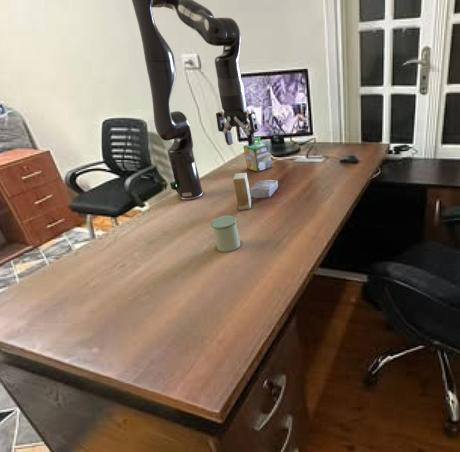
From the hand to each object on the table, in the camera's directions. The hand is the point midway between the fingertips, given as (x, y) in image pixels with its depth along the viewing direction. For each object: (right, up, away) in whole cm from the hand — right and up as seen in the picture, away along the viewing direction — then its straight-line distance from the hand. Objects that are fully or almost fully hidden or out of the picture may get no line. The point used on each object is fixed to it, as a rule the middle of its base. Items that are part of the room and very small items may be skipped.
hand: (240, 145), depth 115 cm
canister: (-2, -33, -9) cm, 34 cm away
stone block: (+3, -13, +27) cm, 31 cm away
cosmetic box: (-2, -19, +16) cm, 25 cm away
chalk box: (-3, +2, +56) cm, 56 cm away
